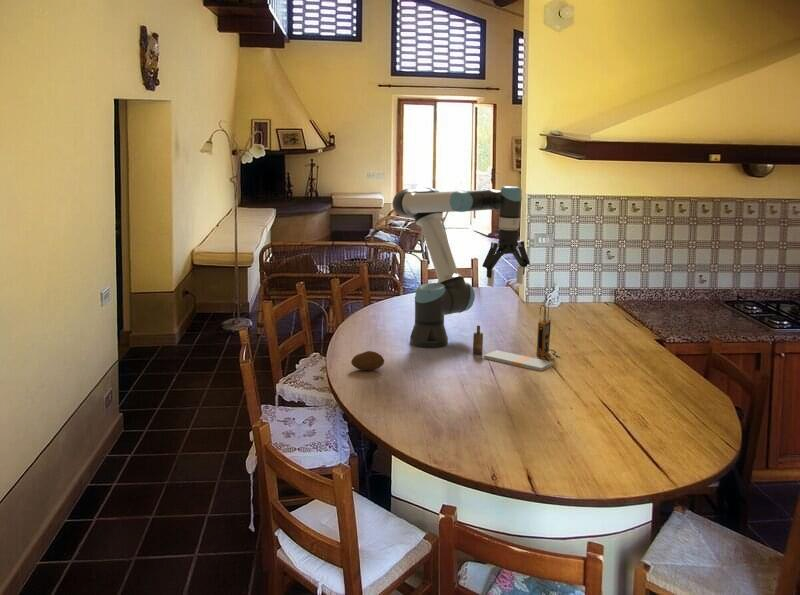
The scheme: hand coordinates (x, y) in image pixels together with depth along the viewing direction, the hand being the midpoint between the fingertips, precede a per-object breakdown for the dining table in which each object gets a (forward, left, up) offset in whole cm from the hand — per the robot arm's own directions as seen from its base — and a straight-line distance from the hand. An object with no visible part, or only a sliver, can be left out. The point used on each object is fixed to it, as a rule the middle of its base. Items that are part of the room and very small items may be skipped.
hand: (504, 284), depth 291 cm
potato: (-25, -50, -27) cm, 62 cm away
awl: (-6, -7, -27) cm, 28 cm away
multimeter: (+16, +10, -27) cm, 33 cm away
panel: (+11, -6, -27) cm, 29 cm away
